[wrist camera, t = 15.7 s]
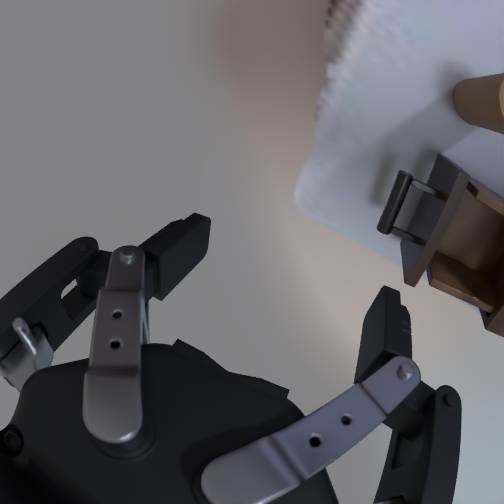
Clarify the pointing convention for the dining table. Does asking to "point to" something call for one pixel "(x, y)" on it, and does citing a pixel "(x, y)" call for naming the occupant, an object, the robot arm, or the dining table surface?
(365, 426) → the robot arm
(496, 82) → the tan wooden cylinder
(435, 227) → the drawer
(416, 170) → the dining table surface
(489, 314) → the cabinet
